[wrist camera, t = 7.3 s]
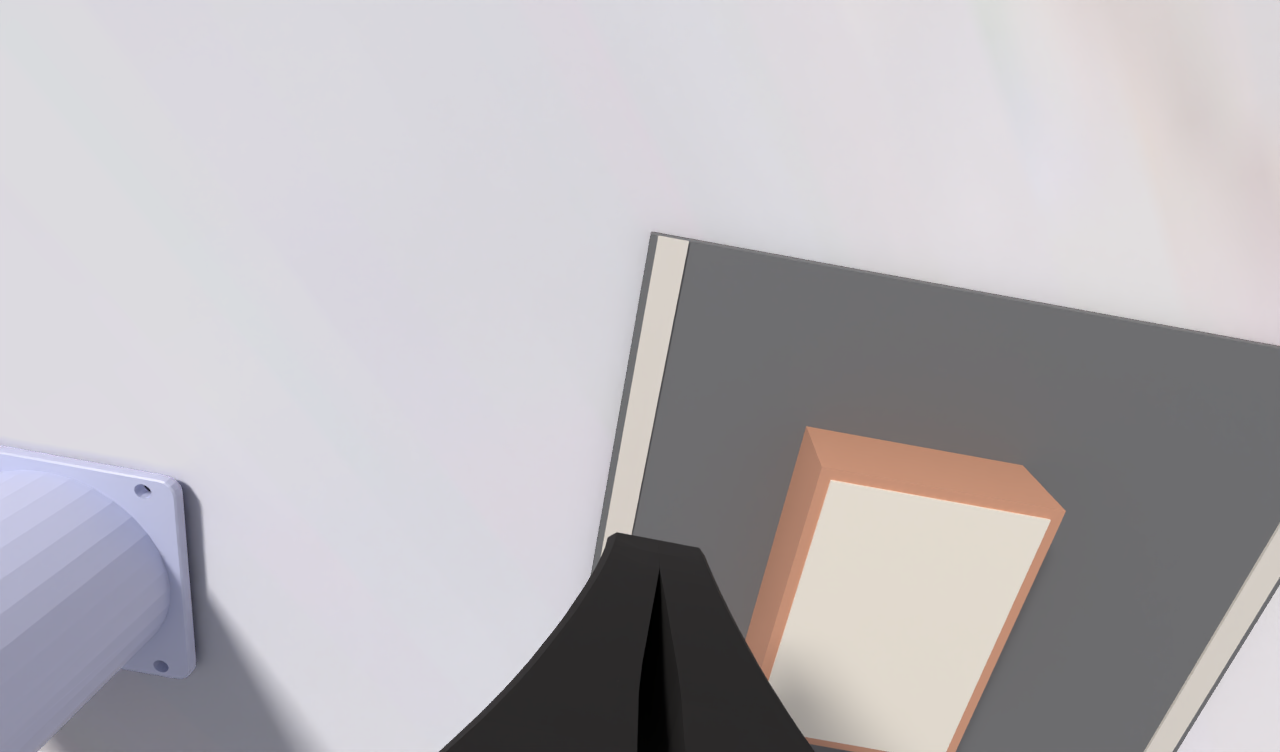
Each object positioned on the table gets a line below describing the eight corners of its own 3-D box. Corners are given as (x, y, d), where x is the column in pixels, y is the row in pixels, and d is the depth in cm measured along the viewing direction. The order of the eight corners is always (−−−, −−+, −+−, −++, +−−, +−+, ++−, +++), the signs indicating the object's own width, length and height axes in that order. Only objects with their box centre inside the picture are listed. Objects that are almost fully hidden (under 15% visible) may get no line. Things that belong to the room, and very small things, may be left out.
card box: (742, 733, 21) (948, 770, 21) (822, 468, 17) (1066, 512, 17) (736, 671, 23) (922, 704, 23) (806, 426, 20) (1022, 465, 20)
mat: (563, 733, 25) (560, 744, 24) (651, 231, 18) (650, 234, 18) (1114, 830, 25) (1121, 844, 25) (1395, 367, 19) (1413, 373, 18)
